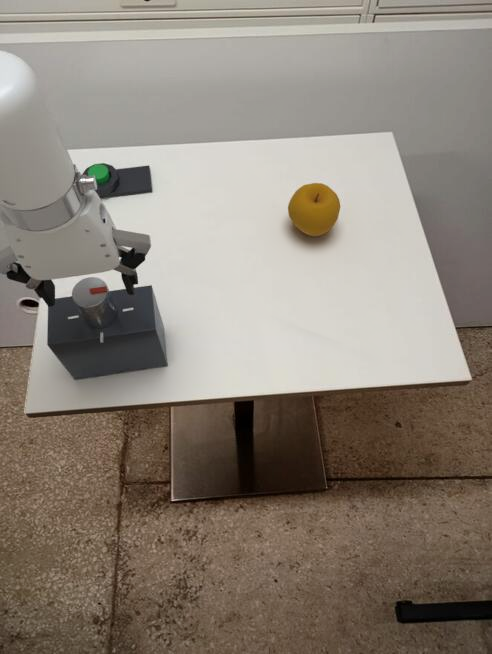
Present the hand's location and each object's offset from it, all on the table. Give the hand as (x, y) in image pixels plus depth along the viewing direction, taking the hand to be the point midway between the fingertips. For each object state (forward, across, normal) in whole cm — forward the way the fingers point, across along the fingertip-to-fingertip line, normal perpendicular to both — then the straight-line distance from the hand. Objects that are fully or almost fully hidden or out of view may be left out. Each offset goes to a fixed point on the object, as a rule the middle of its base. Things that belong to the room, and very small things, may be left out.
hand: (91, 290), depth 62 cm
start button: (+16, +2, -35) cm, 38 cm away
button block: (+18, -1, -35) cm, 39 cm away
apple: (+18, -34, -19) cm, 43 cm away
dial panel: (+18, 0, 0) cm, 18 cm away
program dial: (+6, 0, 0) cm, 6 cm away
